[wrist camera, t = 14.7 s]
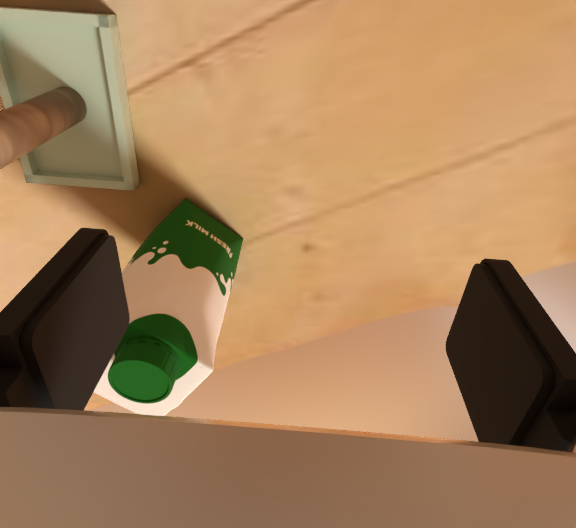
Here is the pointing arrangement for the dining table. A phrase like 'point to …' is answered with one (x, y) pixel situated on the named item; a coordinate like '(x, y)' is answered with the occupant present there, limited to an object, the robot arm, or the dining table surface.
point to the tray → (82, 78)
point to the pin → (38, 121)
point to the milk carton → (172, 311)
